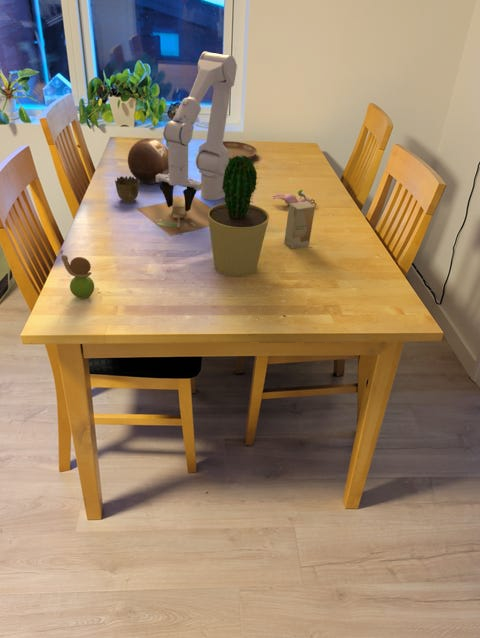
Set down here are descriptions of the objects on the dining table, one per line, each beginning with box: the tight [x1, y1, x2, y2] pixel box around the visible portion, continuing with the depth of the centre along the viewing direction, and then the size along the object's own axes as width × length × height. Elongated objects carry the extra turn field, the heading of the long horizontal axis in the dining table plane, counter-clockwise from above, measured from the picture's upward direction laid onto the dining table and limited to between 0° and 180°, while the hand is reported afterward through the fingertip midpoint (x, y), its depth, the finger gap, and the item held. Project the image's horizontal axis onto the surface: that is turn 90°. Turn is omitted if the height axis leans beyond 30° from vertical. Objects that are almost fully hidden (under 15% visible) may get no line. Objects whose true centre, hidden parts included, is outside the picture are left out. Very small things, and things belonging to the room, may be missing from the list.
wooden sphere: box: [127, 138, 169, 185], centre depth 179 cm, size 15×15×15 cm
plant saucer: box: [208, 140, 258, 161], centre depth 212 cm, size 21×21×3 cm
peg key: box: [172, 195, 186, 228], centre depth 156 cm, size 4×14×4 cm, turn 4°
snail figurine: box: [59, 249, 95, 299], centre depth 118 cm, size 5×6×12 cm
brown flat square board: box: [136, 196, 212, 237], centre depth 160 cm, size 21×22×1 cm
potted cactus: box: [208, 154, 270, 278], centre depth 129 cm, size 15×15×30 cm
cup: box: [114, 176, 140, 203], centre depth 165 cm, size 8×7×8 cm
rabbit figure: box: [271, 189, 318, 208], centre depth 172 cm, size 6×6×15 cm
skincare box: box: [283, 201, 316, 249], centre depth 147 cm, size 6×4×12 cm
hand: (178, 208), depth 159 cm, fingers closed on peg key, 5 cm apart
